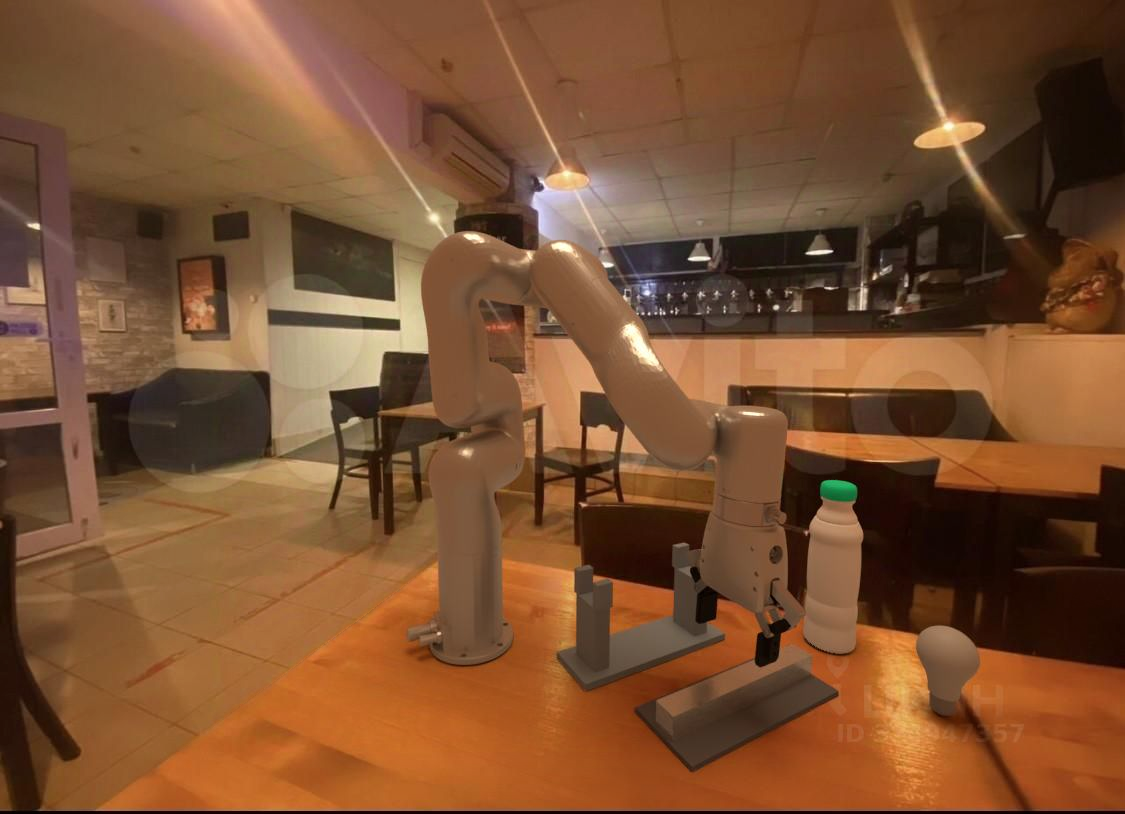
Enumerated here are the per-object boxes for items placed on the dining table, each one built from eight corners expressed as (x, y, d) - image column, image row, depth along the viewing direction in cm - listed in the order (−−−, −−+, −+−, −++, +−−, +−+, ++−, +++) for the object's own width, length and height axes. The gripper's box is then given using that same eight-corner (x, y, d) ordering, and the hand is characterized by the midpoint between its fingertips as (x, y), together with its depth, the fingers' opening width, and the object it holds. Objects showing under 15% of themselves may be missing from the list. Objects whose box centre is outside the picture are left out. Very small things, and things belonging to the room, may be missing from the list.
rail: (672, 741, 56) (673, 716, 55) (655, 724, 58) (656, 700, 58) (810, 676, 67) (812, 655, 66) (791, 663, 69) (792, 643, 69)
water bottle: (842, 630, 79) (852, 477, 76) (864, 657, 72) (876, 489, 69) (796, 628, 80) (804, 476, 77) (813, 654, 73) (824, 488, 70)
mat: (691, 772, 52) (691, 766, 52) (634, 711, 61) (635, 707, 61) (838, 695, 64) (838, 690, 64) (773, 653, 73) (773, 650, 73)
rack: (585, 691, 65) (586, 593, 63) (557, 658, 72) (557, 568, 70) (724, 639, 76) (728, 555, 75) (688, 615, 83) (691, 538, 82)
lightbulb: (960, 703, 63) (968, 620, 61) (983, 738, 57) (992, 648, 56) (904, 692, 65) (910, 612, 63) (920, 725, 59) (928, 638, 58)
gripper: (832, 528, 54) (816, 673, 56) (715, 486, 69) (705, 601, 71) (786, 539, 50) (771, 693, 53) (673, 491, 66) (665, 613, 68)
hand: (733, 640), depth 62 cm, fingers open, 9 cm apart
